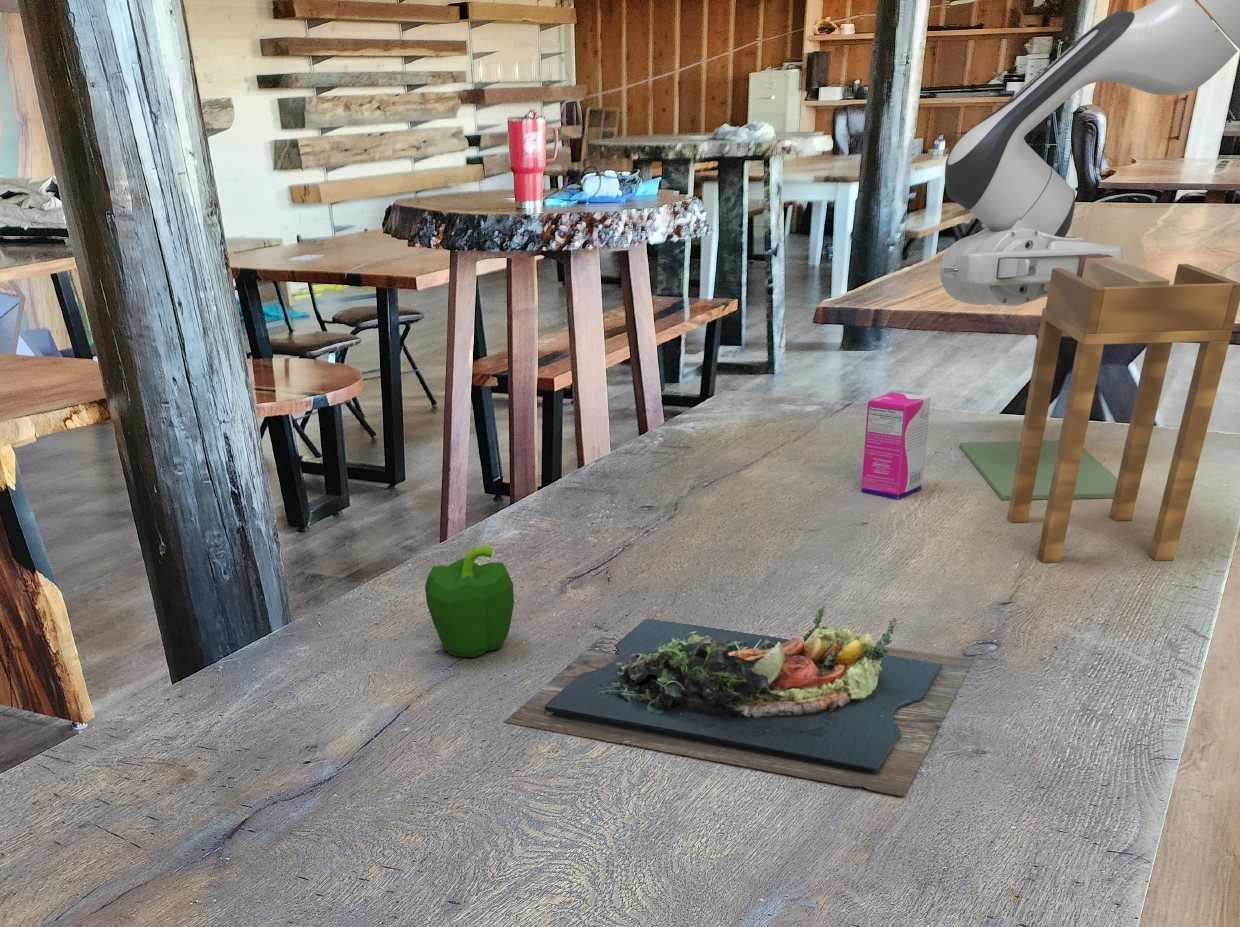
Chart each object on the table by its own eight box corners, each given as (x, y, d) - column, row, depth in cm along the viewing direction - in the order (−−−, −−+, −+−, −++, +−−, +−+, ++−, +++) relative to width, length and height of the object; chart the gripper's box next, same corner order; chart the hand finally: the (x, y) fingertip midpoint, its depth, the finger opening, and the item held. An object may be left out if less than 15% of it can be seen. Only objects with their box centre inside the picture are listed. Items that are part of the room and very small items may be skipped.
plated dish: (974, 656, 109) (986, 580, 105) (910, 804, 88) (921, 716, 84) (627, 613, 122) (624, 544, 118) (501, 733, 102) (493, 654, 97)
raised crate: (1126, 515, 141) (1184, 261, 126) (1173, 560, 128) (1244, 283, 112) (1007, 517, 142) (1049, 266, 127) (1041, 562, 129) (1094, 288, 113)
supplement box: (883, 481, 156) (893, 390, 150) (922, 489, 152) (934, 395, 146) (858, 491, 153) (867, 398, 146) (897, 499, 149) (908, 404, 143)
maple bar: (1100, 294, 135) (1108, 253, 132) (1160, 324, 118) (1171, 279, 116) (1072, 295, 135) (1080, 254, 133) (1129, 325, 119) (1138, 280, 116)
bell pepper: (415, 659, 113) (403, 558, 108) (453, 628, 120) (444, 530, 114) (494, 670, 111) (486, 566, 105) (529, 637, 117) (523, 537, 111)
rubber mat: (1073, 443, 168) (1074, 439, 167) (1133, 497, 146) (1134, 492, 146) (959, 446, 169) (959, 442, 169) (1001, 500, 148) (1002, 495, 147)
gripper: (940, 242, 150) (989, 238, 138) (1090, 237, 152) (1151, 232, 140) (934, 297, 153) (982, 298, 141) (1082, 291, 155) (1141, 291, 143)
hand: (1068, 265), depth 140 cm, fingers open, 8 cm apart
